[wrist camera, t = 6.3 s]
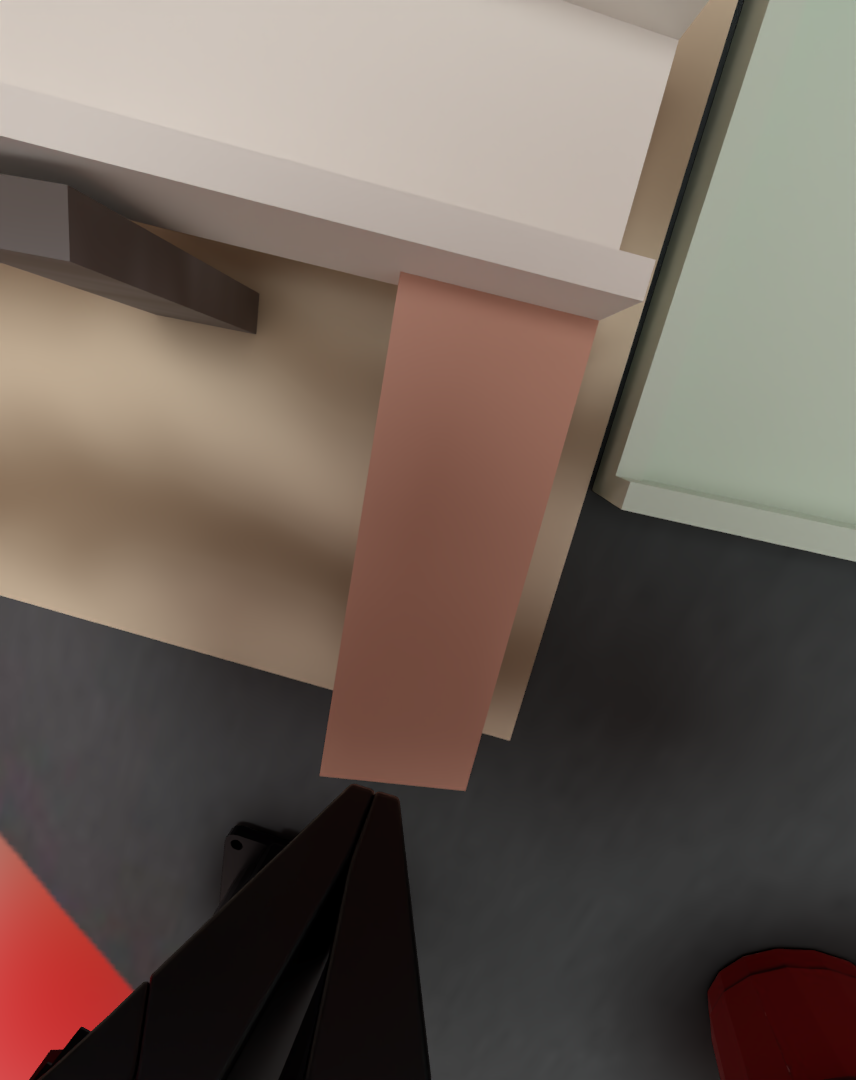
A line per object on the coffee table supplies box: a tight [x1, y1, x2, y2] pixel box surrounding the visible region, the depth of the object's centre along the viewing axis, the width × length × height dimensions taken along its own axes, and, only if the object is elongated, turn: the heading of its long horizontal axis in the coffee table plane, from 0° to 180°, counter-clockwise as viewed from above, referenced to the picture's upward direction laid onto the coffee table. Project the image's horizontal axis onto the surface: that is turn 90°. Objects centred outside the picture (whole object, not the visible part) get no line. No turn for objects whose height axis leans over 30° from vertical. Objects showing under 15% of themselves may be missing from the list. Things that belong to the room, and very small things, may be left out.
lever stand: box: [0, 0, 738, 741], centre depth 9 cm, size 21×22×6 cm
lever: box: [0, 0, 709, 791], centre depth 8 cm, size 17×20×3 cm
